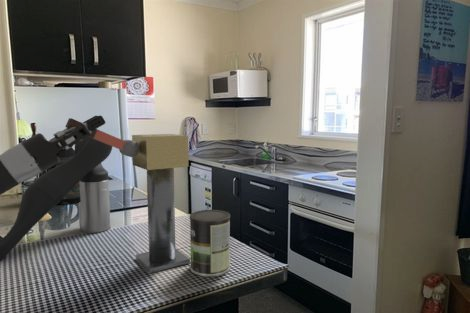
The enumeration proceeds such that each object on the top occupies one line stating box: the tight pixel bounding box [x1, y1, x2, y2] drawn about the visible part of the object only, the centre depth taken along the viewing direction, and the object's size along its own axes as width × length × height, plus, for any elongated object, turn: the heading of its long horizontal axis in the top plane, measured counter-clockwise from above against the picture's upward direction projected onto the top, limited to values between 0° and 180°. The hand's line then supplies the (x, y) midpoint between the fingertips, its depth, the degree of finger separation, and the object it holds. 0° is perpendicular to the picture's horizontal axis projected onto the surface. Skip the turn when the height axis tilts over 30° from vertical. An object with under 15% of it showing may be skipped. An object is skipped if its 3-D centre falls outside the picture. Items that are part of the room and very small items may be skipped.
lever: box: [65, 118, 140, 158], centre depth 84 cm, size 17×4×4 cm, turn 123°
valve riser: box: [131, 133, 191, 274], centre depth 93 cm, size 11×11×34 cm
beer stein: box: [40, 146, 81, 205], centre depth 162 cm, size 16×19×25 cm
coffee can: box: [189, 209, 231, 278], centre depth 90 cm, size 10×10×14 cm
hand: (101, 119), depth 83 cm, fingers closed on lever, 3 cm apart
